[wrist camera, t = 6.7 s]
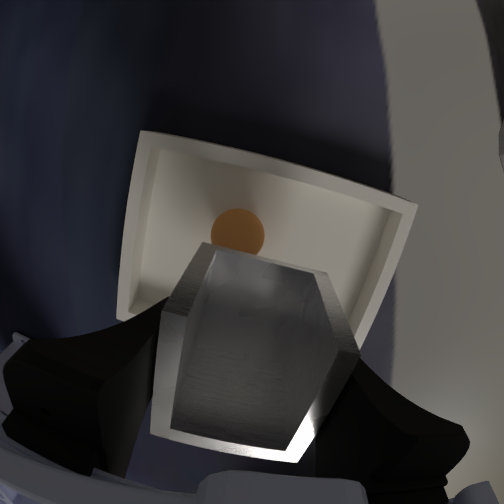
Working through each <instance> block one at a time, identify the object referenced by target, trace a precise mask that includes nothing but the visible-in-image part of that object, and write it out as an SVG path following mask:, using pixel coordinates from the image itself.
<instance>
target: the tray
mask: <svg viewBox="0 0 504 504" xmlns="http://www.w3.org/2000/svg"><path fill="white" fill-rule="evenodd" d="M417 208H418V205H417V204H415V203H413V202H411V201H409V200H406V199H404V198H402V197H399V196H397V195H394V194H391V193H388V192H385V191H383V190H380V189H377V188H374V187H371V186H368V185H365V184H362V183H359V182H356V181H353V180H350V179H346V178H343V177H340V176H337V175H334V174H330V173H327V172H324V171H320V170H317V169H314V168H310V167H307V166H303V165H300V164H296V163H293V162H289V161H285V160H282V159H278V158H274V157H270V156H266V155H262V154H258V153H254V152H250V151H246V150H242V149H238V148H234V147H229V146H225V145H220V144H216V143H211V142H207V141H202V140H197V139H192V138H187V137H182V136H177V135H172V134H166V133H161V132H155V131H140V135H139V140H138V145H137V150H136V155H135V161H134V166H133V172H132V177H131V183H130V189H129V196H128V202H127V209H126V217H125V224H124V232H123V241H122V250H121V260H120V271H119V284H118V299H117V319H119V320H122V321H126V320H128V319H130V318H132V317H134V316H136V315H138V314H140V313H141V312H143V311H145V310H146V309H148V308H150V307H151V306H153V305H155V304H156V303H158V302H159V301H161V300H163V299H164V298H166V297H168V296H169V297H170V295H171V293H172V292H173V290H174V288H175V287H176V285H177V283H178V282H179V280H180V278H181V277H182V275H183V273H184V271H185V270H186V268H187V266H188V265H189V263H190V261H191V260H192V258H193V256H194V255H195V253H196V252H197V250H198V248H199V247H200V245H201V243H202V242H206V243H210V244H212V243H211V229H212V226H213V223H214V222H215V220H216V219H217V217H218V216H220V215H221V214H222V213H224V212H225V211H227V210H230V209H245V210H248V211H250V212H252V213H253V214H255V215H256V216H257V217H258V218H259V220H260V221H261V223H262V225H263V228H264V233H265V238H264V243H263V246H262V248H261V250H260V251H259V253H258V254H257V255H258V256H262V257H266V258H270V259H274V260H278V261H282V262H286V263H290V264H294V265H298V266H302V267H306V268H310V269H314V270H318V271H322V272H326V273H327V274H328V276H329V278H330V281H331V283H332V285H333V287H334V290H335V292H336V294H337V297H338V299H339V302H340V304H341V306H342V309H343V311H344V313H345V316H346V318H347V321H348V323H349V325H350V328H351V330H352V333H353V335H354V338H355V340H356V343H357V345H358V348H359V350H360V348H361V346H362V344H363V342H364V340H365V338H366V336H367V334H368V331H369V329H370V327H371V325H372V323H373V321H374V318H375V316H376V314H377V312H378V310H379V307H380V305H381V303H382V300H383V298H384V296H385V293H386V291H387V289H388V286H389V284H390V281H391V279H392V276H393V274H394V271H395V269H396V266H397V264H398V261H399V259H400V255H401V253H402V251H403V248H404V245H405V242H406V240H407V237H408V234H409V231H410V228H411V226H412V222H413V220H414V217H415V214H416V210H417Z"/></svg>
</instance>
